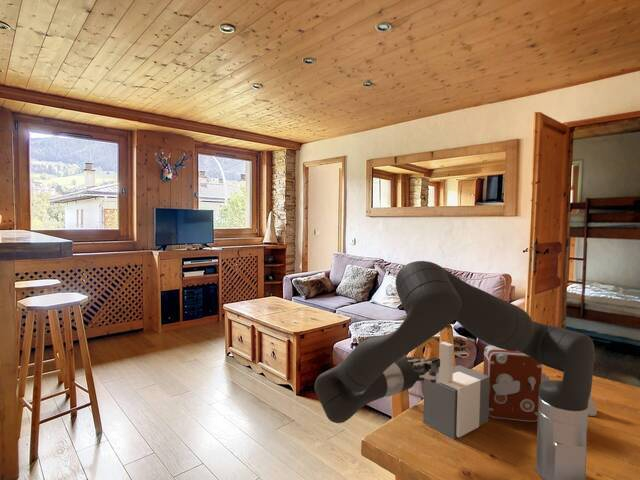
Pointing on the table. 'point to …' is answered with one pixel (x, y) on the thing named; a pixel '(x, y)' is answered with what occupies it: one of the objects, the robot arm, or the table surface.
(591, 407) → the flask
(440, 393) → the camera housing
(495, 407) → the brown boxy piece
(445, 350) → the grooved cream block
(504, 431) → the table surface
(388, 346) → the robot arm
